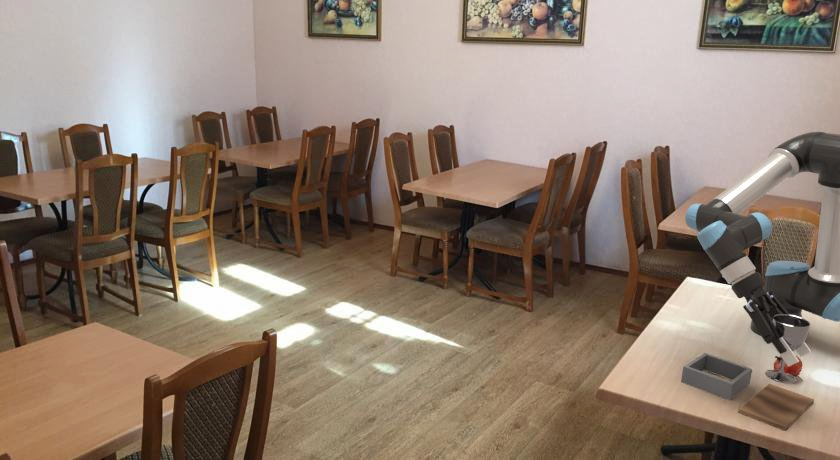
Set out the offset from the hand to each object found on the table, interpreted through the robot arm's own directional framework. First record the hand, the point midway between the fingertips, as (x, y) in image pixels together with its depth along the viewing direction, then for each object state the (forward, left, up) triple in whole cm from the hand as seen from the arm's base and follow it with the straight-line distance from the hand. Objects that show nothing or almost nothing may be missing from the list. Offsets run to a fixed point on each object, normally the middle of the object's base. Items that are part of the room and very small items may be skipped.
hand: (799, 358), depth 170 cm
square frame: (-2, -19, -15) cm, 24 cm away
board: (-1, -3, -15) cm, 15 cm away
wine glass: (0, -3, -6) cm, 7 cm away
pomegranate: (-20, -7, -15) cm, 26 cm away
